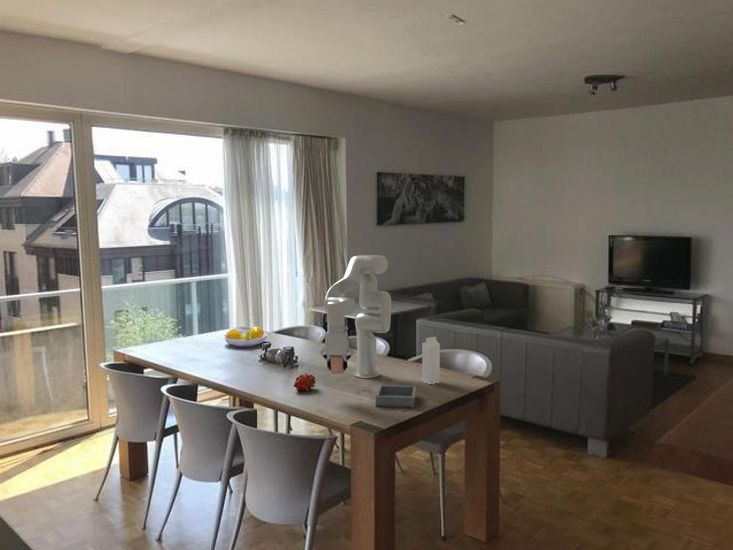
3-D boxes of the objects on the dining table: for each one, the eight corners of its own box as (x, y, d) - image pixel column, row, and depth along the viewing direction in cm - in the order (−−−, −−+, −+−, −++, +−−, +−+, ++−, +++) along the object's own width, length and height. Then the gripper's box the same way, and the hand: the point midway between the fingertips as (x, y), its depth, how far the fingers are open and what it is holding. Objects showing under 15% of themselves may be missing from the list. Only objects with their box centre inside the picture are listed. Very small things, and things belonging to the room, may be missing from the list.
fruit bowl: (229, 340, 378) (228, 322, 376) (271, 339, 378) (271, 322, 376) (217, 350, 350) (217, 331, 349) (263, 350, 350) (263, 331, 348)
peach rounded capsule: (332, 369, 263) (331, 354, 262) (345, 369, 262) (345, 354, 261) (329, 373, 257) (328, 358, 256) (343, 373, 256) (342, 358, 255)
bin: (380, 394, 265) (379, 385, 265) (415, 395, 263) (415, 386, 263) (375, 406, 250) (375, 396, 249) (413, 408, 247) (413, 397, 247)
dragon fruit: (317, 391, 276) (296, 400, 269) (308, 378, 280) (286, 386, 273) (322, 379, 271) (300, 388, 264) (312, 366, 275) (290, 375, 268)
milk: (439, 383, 282) (440, 337, 279) (429, 385, 279) (430, 339, 276) (431, 380, 287) (432, 335, 285) (421, 381, 284) (422, 336, 281)
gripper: (357, 327, 259) (358, 367, 262) (318, 327, 261) (320, 366, 264) (354, 331, 252) (355, 372, 254) (314, 331, 254) (316, 371, 257)
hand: (337, 369), depth 259 cm, fingers closed on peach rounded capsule, 6 cm apart
